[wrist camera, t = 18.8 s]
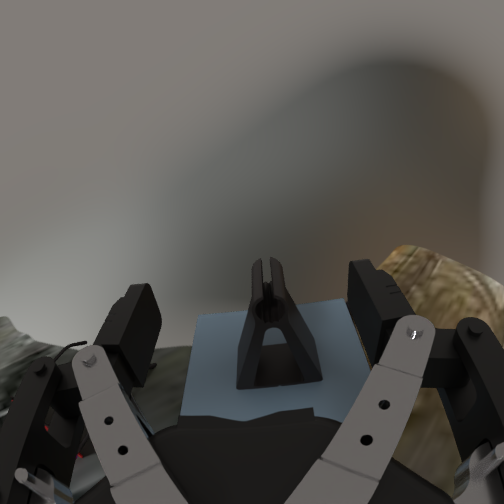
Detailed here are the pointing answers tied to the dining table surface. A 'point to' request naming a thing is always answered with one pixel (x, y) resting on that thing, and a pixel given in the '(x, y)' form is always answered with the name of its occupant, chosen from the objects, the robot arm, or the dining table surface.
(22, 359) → the dining table surface
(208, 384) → the tray
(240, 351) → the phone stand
